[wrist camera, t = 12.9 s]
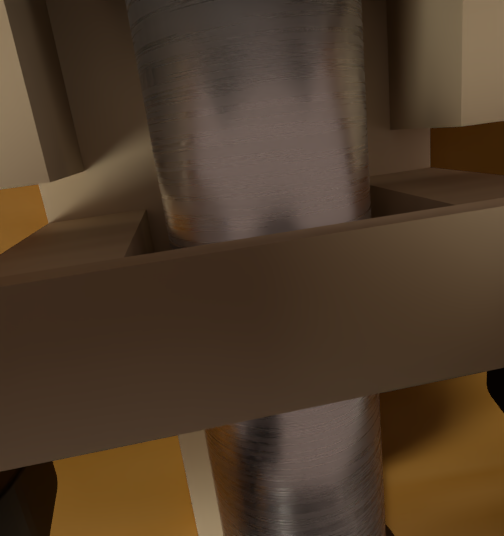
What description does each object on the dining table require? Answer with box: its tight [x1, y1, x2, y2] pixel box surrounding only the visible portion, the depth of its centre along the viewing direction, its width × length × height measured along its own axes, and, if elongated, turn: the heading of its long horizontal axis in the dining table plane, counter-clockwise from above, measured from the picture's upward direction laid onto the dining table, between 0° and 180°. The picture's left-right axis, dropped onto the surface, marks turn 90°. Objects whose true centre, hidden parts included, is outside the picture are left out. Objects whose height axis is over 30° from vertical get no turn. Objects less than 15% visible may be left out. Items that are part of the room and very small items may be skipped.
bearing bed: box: [0, 0, 504, 536], centre depth 7 cm, size 20×7×5 cm, turn 7°
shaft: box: [125, 0, 394, 536], centre depth 7 cm, size 12×4×4 cm, turn 7°
